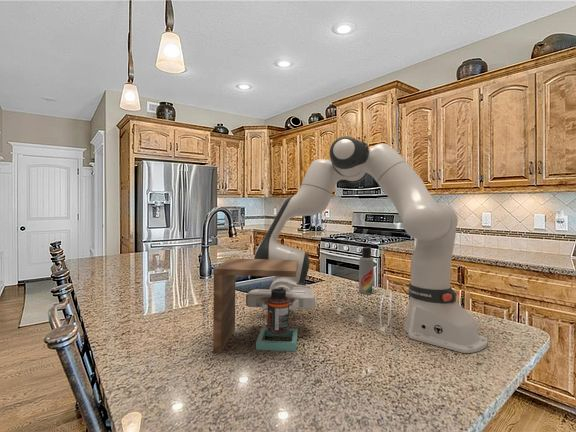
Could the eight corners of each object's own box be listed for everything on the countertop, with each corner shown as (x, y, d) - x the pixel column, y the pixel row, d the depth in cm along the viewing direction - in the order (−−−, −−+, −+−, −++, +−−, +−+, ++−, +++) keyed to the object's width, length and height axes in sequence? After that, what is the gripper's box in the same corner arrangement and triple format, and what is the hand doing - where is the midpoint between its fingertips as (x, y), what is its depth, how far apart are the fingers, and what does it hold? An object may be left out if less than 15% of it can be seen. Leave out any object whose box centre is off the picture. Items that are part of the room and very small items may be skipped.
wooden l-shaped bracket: (297, 331, 100) (298, 260, 100) (294, 356, 84) (295, 271, 84) (228, 329, 102) (229, 258, 101) (213, 352, 86) (213, 268, 85)
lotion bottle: (372, 294, 143) (373, 247, 142) (358, 294, 144) (359, 247, 143) (372, 291, 148) (373, 246, 147) (358, 290, 149) (359, 245, 148)
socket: (297, 335, 98) (297, 328, 98) (295, 351, 87) (296, 343, 87) (261, 334, 98) (261, 327, 98) (256, 349, 88) (256, 342, 88)
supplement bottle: (264, 328, 95) (265, 288, 94) (284, 325, 97) (285, 286, 96) (271, 336, 89) (271, 293, 89) (292, 333, 91) (292, 291, 91)
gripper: (249, 282, 106) (240, 294, 92) (314, 284, 105) (315, 297, 91) (249, 302, 106) (240, 317, 93) (314, 304, 105) (315, 320, 91)
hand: (278, 307), depth 92 cm, fingers closed on supplement bottle, 6 cm apart
